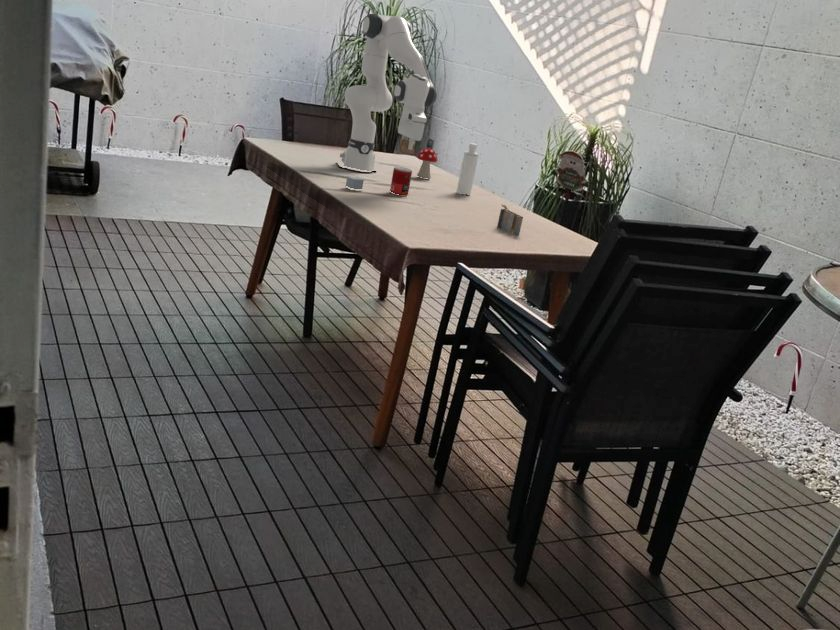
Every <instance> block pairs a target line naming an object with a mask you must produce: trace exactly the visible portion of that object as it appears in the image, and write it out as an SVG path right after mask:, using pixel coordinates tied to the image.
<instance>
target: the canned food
mask: <svg viewBox="0 0 840 630" xmlns="http://www.w3.org/2000/svg"><path fill="white" fill-rule="evenodd" d="M412 176H413V170H412V169H411V168H407V167H404V166H394V167H393V171H392V176H391V177H392V178H391V182H390V189H389V191H391V192H393V193H395V194H399V195H407V196H408V195H409V191H410V185H411V180H412ZM391 192H390V193H391ZM395 194H394V195H395ZM399 195H398V196H399Z"/></svg>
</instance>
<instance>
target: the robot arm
mask: <svg viewBox="0 0 840 630" xmlns="http://www.w3.org/2000/svg"><path fill="white" fill-rule="evenodd" d="M362 32H363V35H364V36H365V37H366V41H365V44H364V49H363V54H362V55H363V56H362V63H361V69H360V70H361V74H363V76H364V77H365V79H366V84H367V85H362V84H361V85H359V84H358V85H352V86H349V87H348V88H347V89H346V91H345V93H344V100H345V104H346V106H348V108H349V109H350V112H351V116H352V127H351V134H350V138H349V141H348V144H347V145H348V146H347V147H346V148H345V150H344V151H343V152H340V154H339V158H341V161H342V162H343V163H344V166H347V167H351V168H356V169H360V170H367V171H372V170H374V169H375V164H376V163H375V162H376V153H374V150H375V145H376V144H375V138H376V133H377V132H376V131H377V125H376V122H374V121H373V119H372V115H371V114H372V113H371V112H378V113H380V112H381V113H382V112H386V111H388V110H390V109H391V107H392V105H393V97H394V99H395V100H396V102H398V103H400V104H403V108H402V114H401V116H400V119H399V123H398V127H397V133H398V134H399V135H402V136H401V139H405V140H409V145H408V147H407V148H408V149H409V150H412V148H413V145H414V143H415V142H420V141H422V139H423V136H424V131H425V127H426V125H425V123H427V120H428V119H427V117H426V114H425V109H428V108H430V107H432V106H433V104H435V102H436V100H437V97H438V96H437V95H438V94H437V90H436V88H435V86H434V84H433V82H432V80H431V77H430V74H429V72H428V68H427V65H426V63H425V60H424V58H423V55H422V54H421V53H420V52H419V51H418V49H417V48H416V46H415V45H414V43H413V40H412V35H411V34H412V25H411V23H410V21H408V20H406V19H405V18H404V17H403V16H398V15H395V16H394V15H386V14H378V13H369V14H367V15H366V16H365V17H364V19H363V22H362ZM388 56H390V58H392V59H393V60H394V61H396V62H398V63H400V64H402V65H404V66H406V67H408V68H409V69H411V70H412V72H413V73H411V74H410V75H408V76H409V77H408V78H406V79H400V80H398V81H397V82H396V83H395V84H394V88H393V95H392V93H391V91H390V90H389V89H388V86H387V85H388V84H387V81H386V71H387V69H386V68H387V64H388V63H387V62H388Z"/></svg>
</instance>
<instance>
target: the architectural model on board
mask: <svg viewBox="0 0 840 630" xmlns="http://www.w3.org/2000/svg"><path fill="white" fill-rule="evenodd" d="M501 207H503V208H500V213H499V216H498V220H497V225H496V228H500V229H501V230H503V231H505V232H507V233H510V234H511V235H514V236H520V234H521V233H520V232H521V228H522V223H523V219H524V216H522V215H520V214H518V213H515V212H513V211H511V210H509V209H508V207H507V205H505V204H503V203H501Z"/></svg>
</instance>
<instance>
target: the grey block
mask: <svg viewBox="0 0 840 630" xmlns="http://www.w3.org/2000/svg"><path fill="white" fill-rule="evenodd" d="M364 182H365V180H364V179H363V178H360V177H358V176H346V182H345V187H346V186H348V187H350V188H354V189H362V190H363V186H364Z"/></svg>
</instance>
